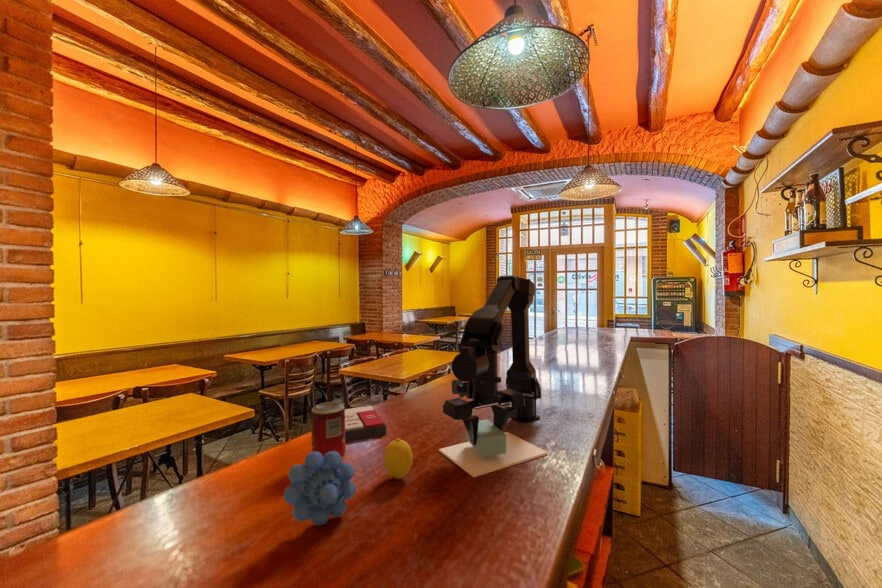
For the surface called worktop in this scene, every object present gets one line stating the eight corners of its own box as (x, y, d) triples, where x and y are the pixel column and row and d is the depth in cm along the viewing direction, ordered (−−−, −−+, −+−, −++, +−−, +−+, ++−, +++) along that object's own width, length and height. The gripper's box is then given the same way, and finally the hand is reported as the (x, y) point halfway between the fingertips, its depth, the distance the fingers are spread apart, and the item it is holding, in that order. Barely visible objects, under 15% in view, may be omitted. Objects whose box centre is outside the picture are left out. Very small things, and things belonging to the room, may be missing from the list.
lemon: (417, 474, 76) (416, 435, 76) (405, 488, 71) (405, 445, 71) (392, 470, 78) (391, 431, 78) (379, 483, 73) (378, 442, 73)
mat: (507, 433, 97) (507, 431, 97) (547, 454, 85) (547, 452, 85) (438, 451, 87) (438, 449, 87) (473, 477, 75) (473, 474, 75)
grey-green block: (506, 453, 81) (506, 434, 81) (482, 456, 79) (481, 437, 79) (488, 436, 90) (488, 419, 90) (466, 438, 89) (466, 421, 89)
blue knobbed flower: (294, 555, 53) (292, 470, 53) (279, 532, 59) (277, 454, 58) (368, 522, 61) (367, 447, 61) (348, 504, 66) (347, 435, 66)
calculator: (343, 429, 93) (333, 408, 106) (343, 446, 93) (334, 423, 107) (386, 422, 97) (372, 403, 111) (386, 438, 97) (372, 417, 111)
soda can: (352, 459, 83) (351, 404, 83) (323, 472, 78) (322, 412, 77) (333, 451, 88) (332, 398, 87) (305, 462, 82) (304, 406, 82)
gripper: (495, 361, 96) (496, 422, 96) (430, 370, 87) (431, 437, 87) (525, 369, 87) (526, 437, 87) (456, 380, 77) (457, 456, 78)
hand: (485, 441), depth 85 cm, fingers closed on grey-green block, 6 cm apart
